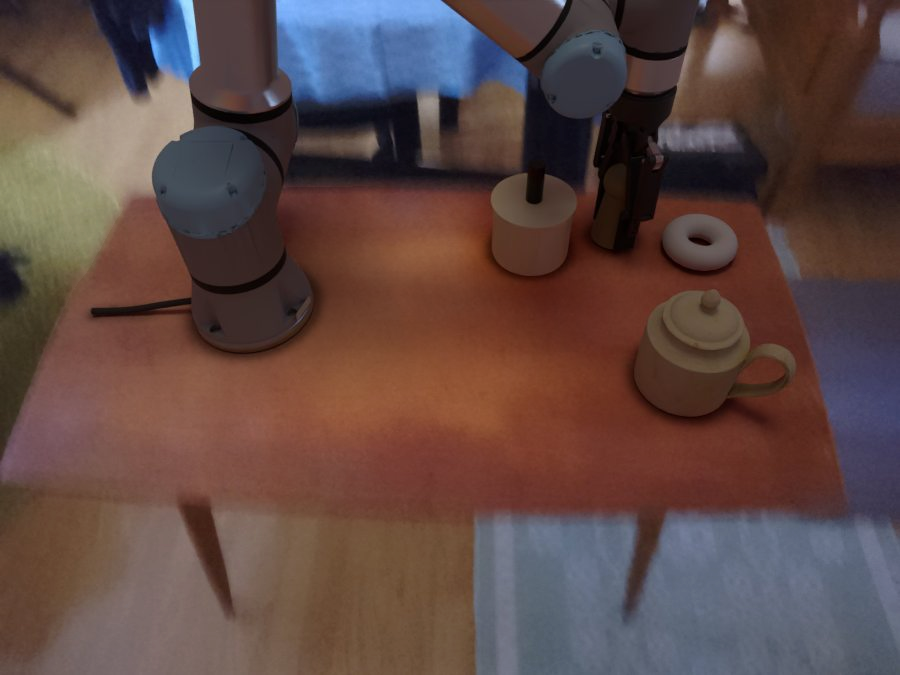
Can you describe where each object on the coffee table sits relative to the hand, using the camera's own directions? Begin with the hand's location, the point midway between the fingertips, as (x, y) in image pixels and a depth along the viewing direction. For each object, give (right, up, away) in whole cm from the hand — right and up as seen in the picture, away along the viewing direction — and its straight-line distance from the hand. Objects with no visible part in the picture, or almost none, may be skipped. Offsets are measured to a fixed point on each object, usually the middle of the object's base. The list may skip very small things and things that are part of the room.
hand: (612, 233), depth 96 cm
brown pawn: (0, 0, 0) cm, 1 cm away
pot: (-12, -2, -1) cm, 12 cm away
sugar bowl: (+6, -20, -16) cm, 26 cm away
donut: (+11, -3, -1) cm, 12 cm away
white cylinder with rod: (-12, +3, -7) cm, 14 cm away
